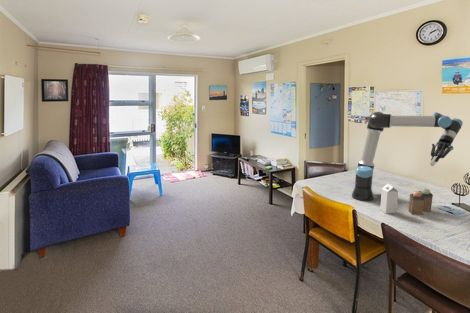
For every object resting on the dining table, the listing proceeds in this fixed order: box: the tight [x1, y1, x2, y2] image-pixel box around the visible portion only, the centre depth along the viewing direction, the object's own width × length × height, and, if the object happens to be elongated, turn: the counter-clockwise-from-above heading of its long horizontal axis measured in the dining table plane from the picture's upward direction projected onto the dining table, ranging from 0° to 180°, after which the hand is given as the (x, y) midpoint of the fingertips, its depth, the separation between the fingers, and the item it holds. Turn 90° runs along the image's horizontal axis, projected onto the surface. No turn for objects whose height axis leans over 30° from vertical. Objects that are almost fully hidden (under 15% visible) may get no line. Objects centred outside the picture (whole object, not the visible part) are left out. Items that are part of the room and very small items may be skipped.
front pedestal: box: [407, 193, 425, 216], centre depth 189 cm, size 6×6×12 cm
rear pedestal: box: [417, 190, 434, 213], centre depth 194 cm, size 6×6×12 cm
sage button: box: [420, 188, 431, 194], centre depth 193 cm, size 5×5×4 cm
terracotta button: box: [412, 190, 422, 197], centre depth 188 cm, size 5×5×4 cm
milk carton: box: [379, 182, 399, 214], centre depth 192 cm, size 7×7×19 cm
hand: (431, 164), depth 193 cm, fingers closed
